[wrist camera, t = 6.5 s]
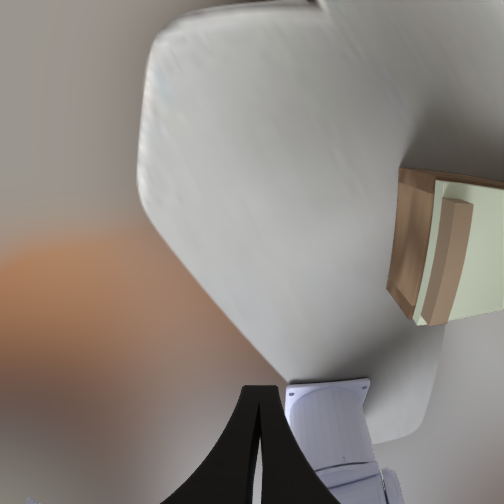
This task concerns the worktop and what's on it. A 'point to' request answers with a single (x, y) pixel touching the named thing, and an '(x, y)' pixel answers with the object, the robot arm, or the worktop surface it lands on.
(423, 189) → the pencil box
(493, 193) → the wood-edged cream panel
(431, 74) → the worktop surface
